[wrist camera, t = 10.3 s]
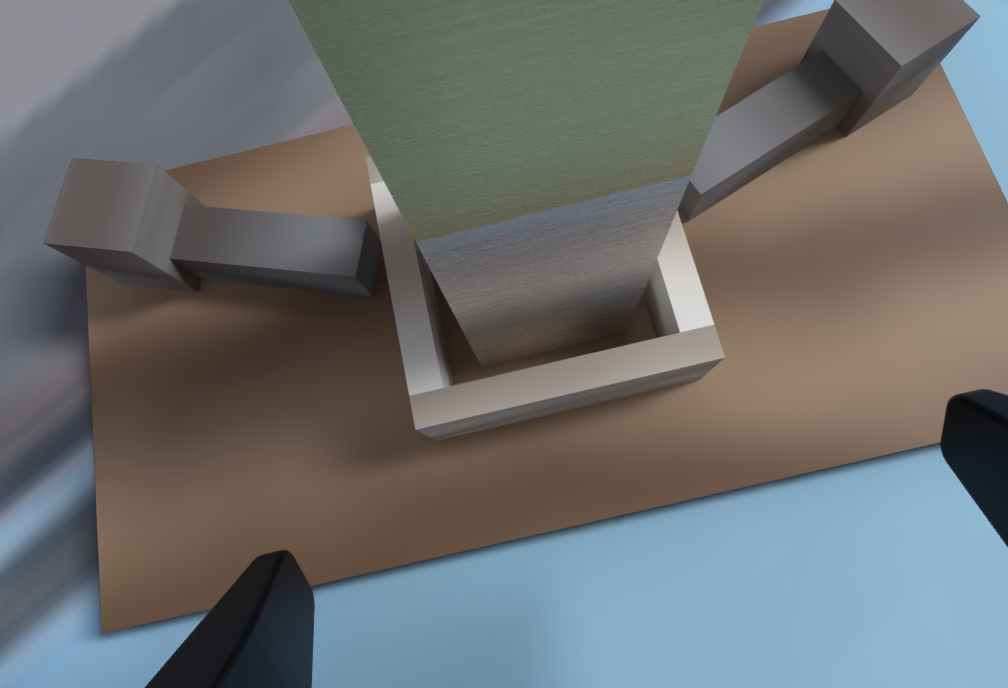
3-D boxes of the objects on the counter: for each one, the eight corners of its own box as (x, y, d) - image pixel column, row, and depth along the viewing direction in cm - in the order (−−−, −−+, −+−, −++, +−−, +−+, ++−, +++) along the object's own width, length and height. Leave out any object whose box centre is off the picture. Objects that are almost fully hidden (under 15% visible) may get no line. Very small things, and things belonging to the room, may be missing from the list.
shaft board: (1073, 410, 17) (1229, 381, 13) (127, 626, 17) (2, 661, 13) (888, 15, 20) (968, -103, 16) (104, 205, 20) (-1, 136, 17)
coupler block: (625, 335, 17) (823, -149, 4) (482, 368, 17) (281, -11, 5) (587, 205, 18) (664, -481, 6) (453, 237, 18) (225, -366, 6)
